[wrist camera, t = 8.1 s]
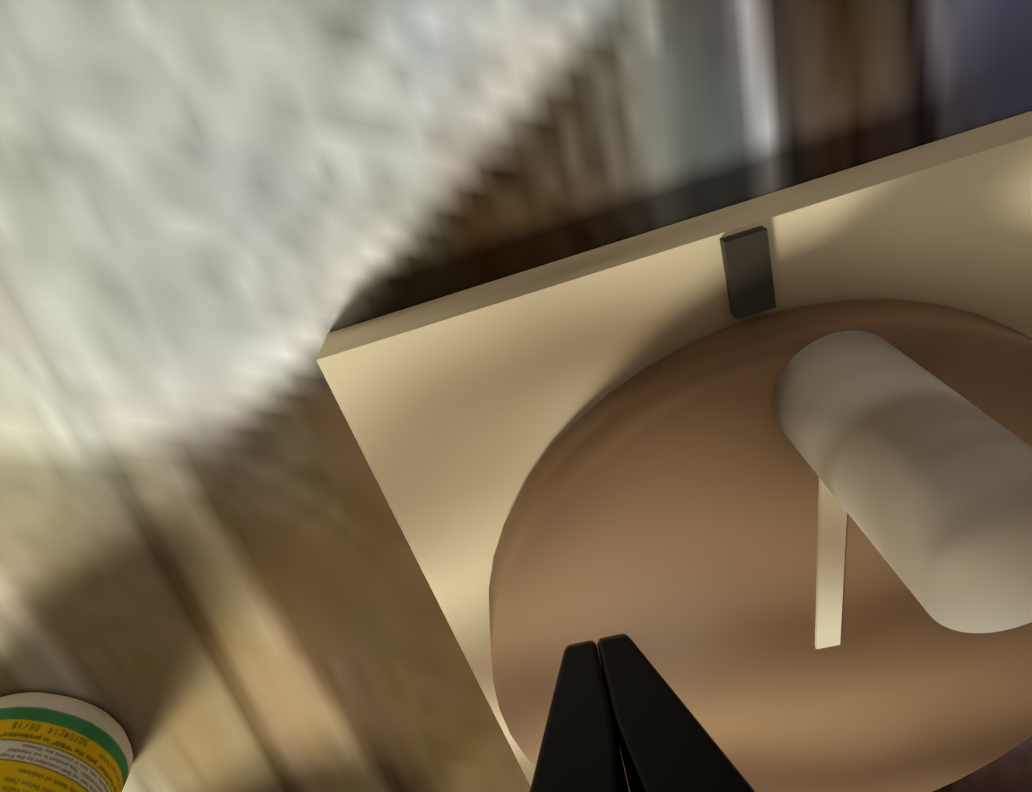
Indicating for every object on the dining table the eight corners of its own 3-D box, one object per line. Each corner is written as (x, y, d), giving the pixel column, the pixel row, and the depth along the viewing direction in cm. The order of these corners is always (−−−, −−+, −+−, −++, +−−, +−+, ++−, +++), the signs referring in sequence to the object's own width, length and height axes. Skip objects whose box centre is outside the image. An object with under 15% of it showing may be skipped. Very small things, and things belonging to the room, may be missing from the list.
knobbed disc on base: (1042, 717, 23) (1257, 972, 17) (547, 812, 23) (579, 1094, 17) (1188, 210, 14) (1731, 346, 8) (411, 377, 15) (377, 623, 9)
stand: (1052, 680, 25) (1093, 725, 23) (556, 805, 26) (562, 855, 25) (1141, 76, 15) (1224, 81, 13) (327, 332, 16) (313, 365, 15)
